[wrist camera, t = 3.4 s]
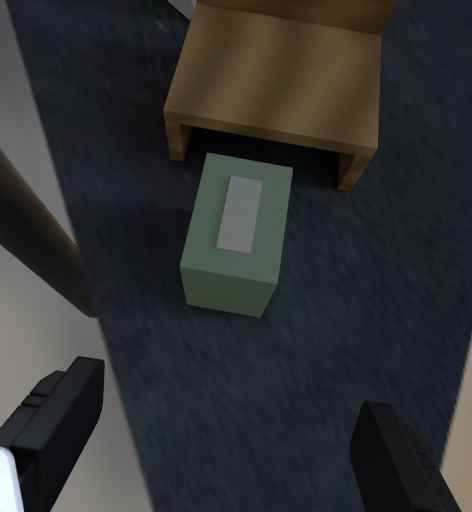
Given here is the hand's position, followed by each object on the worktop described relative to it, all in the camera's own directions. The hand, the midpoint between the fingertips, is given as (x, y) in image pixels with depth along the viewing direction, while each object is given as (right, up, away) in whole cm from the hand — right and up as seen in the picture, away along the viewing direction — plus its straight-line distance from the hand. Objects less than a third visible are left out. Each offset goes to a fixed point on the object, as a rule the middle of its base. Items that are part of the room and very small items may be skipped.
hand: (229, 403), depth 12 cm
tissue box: (0, +4, +19) cm, 19 cm away
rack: (+3, +17, +25) cm, 30 cm away
